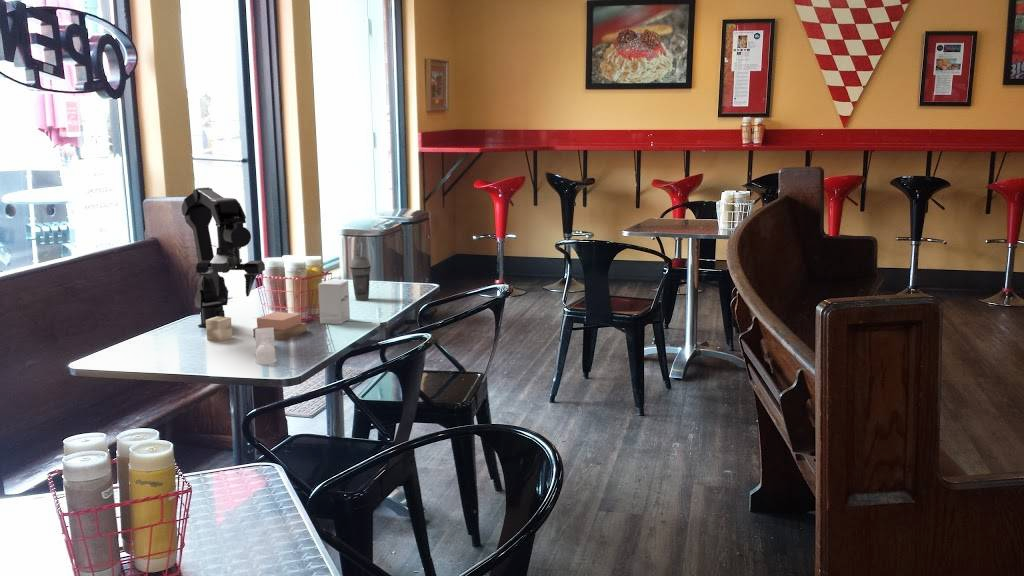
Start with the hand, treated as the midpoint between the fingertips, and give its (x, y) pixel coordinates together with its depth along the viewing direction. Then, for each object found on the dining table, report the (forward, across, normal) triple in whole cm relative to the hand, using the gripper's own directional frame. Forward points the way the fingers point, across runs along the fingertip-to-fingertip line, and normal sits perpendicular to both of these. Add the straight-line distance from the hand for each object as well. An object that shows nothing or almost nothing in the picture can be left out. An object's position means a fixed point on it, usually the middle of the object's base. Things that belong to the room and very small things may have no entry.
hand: (232, 295), depth 259 cm
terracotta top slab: (+10, +12, +4) cm, 16 cm away
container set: (+12, +16, -19) cm, 28 cm away
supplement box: (+12, +24, +20) cm, 34 cm away
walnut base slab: (+13, +12, +4) cm, 18 cm away
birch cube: (+12, -4, -2) cm, 13 cm away
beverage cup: (+13, +24, +54) cm, 60 cm away
